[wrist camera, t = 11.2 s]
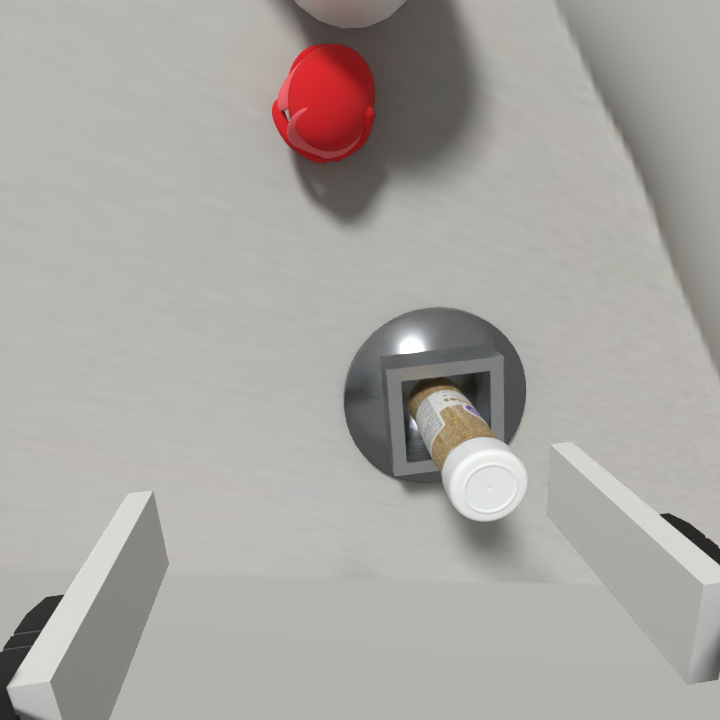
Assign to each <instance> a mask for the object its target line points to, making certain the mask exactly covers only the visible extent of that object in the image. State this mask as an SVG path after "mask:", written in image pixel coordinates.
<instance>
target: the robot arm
mask: <svg viewBox="0 0 720 720" xmlns="http://www.w3.org/2000/svg"><path fill="white" fill-rule="evenodd" d="M547 515H548V517H549V518H550V519H551V520H552V522H553V523H554V524H555V525H556V526H557V528H558V529H559V530H560V531H561V532H562V534H563V535H564V536H565V537H566V539H567V540H568V541H569V542H570V543H571V545H572V546H573V547H574V548H575V549H576V551H577V552H578V553H579V554H580V556H581V557H582V558H583V559H584V560H585V562H586V563H587V564H588V565H589V566H590V568H591V569H592V570H593V571H594V573H595V574H596V575H597V576H598V577H599V579H600V580H601V581H602V582H603V583H604V585H605V586H606V587H607V588H608V590H609V591H610V592H611V593H612V594H613V596H614V597H615V598H616V599H617V600H618V601H619V603H620V604H621V605H622V607H623V608H624V609H625V610H626V611H627V612H628V614H629V615H630V616H631V617H632V619H633V620H634V621H635V622H636V624H637V625H638V626H639V627H640V628H641V630H642V631H643V632H644V633H645V634H646V636H647V637H648V638H649V639H650V640H651V642H652V643H653V644H654V645H655V646H656V648H657V649H658V650H659V651H660V653H661V654H662V655H663V656H664V657H665V659H666V660H667V661H668V662H669V663H670V665H671V666H672V667H673V668H674V670H675V671H676V672H677V673H678V674H679V676H680V677H681V678H682V679H683V681H684V682H685V683H686V684H687V685H689V684H694V683H700V682H706V681H712V680H718V678H719V672H720V549H719V548H718V546H717V545H716V544H715V543H714V542H712V541H711V540H710V539H709V538H706V537H705V535H704V534H702V533H701V532H700V531H698V530H697V529H696V528H695V527H693V526H692V525H691V524H690V523H688V522H686V521H684V520H682V519H680V518H677V517H675V516H673V515H671V514H669V513H667V514H658V513H656V512H655V511H654V510H653V509H652V508H650V507H649V506H648V505H647V504H646V503H644V502H643V501H642V500H641V499H640V498H638V497H637V496H636V495H635V494H634V493H632V492H631V491H630V490H629V489H628V488H626V487H625V486H624V485H623V484H622V483H620V482H619V481H618V480H617V479H616V478H614V477H613V476H612V475H611V474H610V473H608V472H607V471H606V470H605V469H604V468H602V467H601V466H600V465H599V464H598V463H596V462H595V461H594V460H593V459H592V458H590V457H589V456H588V455H587V454H586V453H584V452H583V451H582V450H581V449H580V448H578V447H577V446H576V445H575V444H574V443H572V442H568V443H560V444H551V445H550V462H549V481H548V501H547ZM168 564H169V562H168V558H167V553H166V548H165V544H164V539H163V534H162V529H161V525H160V520H159V515H158V511H157V506H156V501H155V497H154V492H153V491H146V492H138V493H129V494H128V495H127V496H126V498H125V499H124V501H123V503H122V504H121V506H120V507H119V509H118V511H117V512H116V514H115V515H114V517H113V519H112V520H111V522H110V523H109V525H108V527H107V528H106V530H105V531H104V533H103V535H102V536H101V538H100V539H99V541H98V543H97V544H96V546H95V547H94V549H93V550H92V552H91V554H90V555H89V557H88V558H87V560H86V562H85V563H84V565H83V566H82V568H81V570H80V571H79V573H78V574H77V576H76V578H75V579H74V581H73V582H72V584H71V586H70V587H69V589H68V590H67V592H66V594H65V595H58V596H51V597H46V598H45V599H44V600H42V601H41V602H40V603H39V604H38V605H37V606H36V607H34V608H33V609H32V610H31V611H30V612H29V613H27V615H26V616H25V618H24V619H23V620H22V622H21V623H20V625H19V626H18V627H17V629H16V630H15V632H14V636H11V638H10V639H9V640H8V642H7V643H6V645H5V646H4V648H3V652H0V720H109V718H110V716H111V713H112V710H113V708H114V705H115V703H116V700H117V698H118V695H119V692H120V690H121V687H122V684H123V682H124V679H125V677H126V674H127V671H128V669H129V666H130V663H131V661H132V658H133V656H134V653H135V651H136V648H137V645H138V643H139V640H140V637H141V635H142V632H143V630H144V627H145V624H146V622H147V619H148V617H149V614H150V611H151V609H152V606H153V603H154V601H155V598H156V596H157V593H158V590H159V588H160V585H161V583H162V580H163V577H164V575H165V572H166V570H167V567H168Z"/></svg>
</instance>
